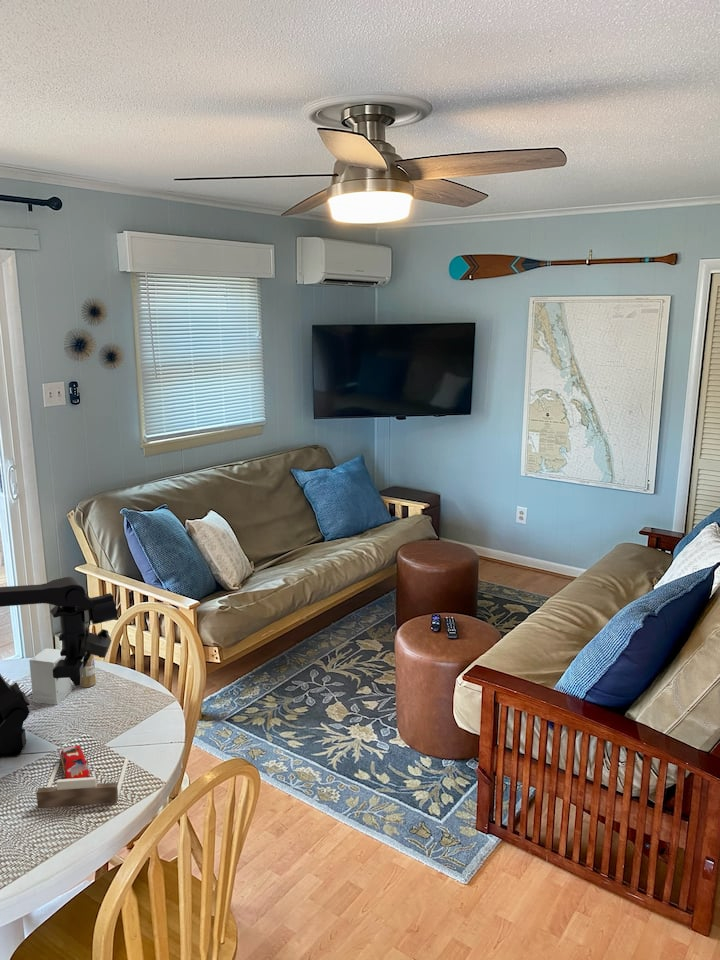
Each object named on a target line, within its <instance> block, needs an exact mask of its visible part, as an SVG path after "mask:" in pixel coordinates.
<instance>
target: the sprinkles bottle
mask: <svg viewBox="0 0 720 960" xmlns="http://www.w3.org/2000/svg"><path fill="white" fill-rule="evenodd" d="M86 653H87V652H86ZM87 661H88V662H87V664H86V666H85V667H84V668H83V673H82V679H81V684H80V686H79V687H82V688H91V687H93V686H95V685H96V683H97V679H96V665H95V664H96V663H95V655H92V654H91V656H90V658H89V659H88V660H87Z"/></svg>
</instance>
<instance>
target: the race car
mask: <svg viewBox="0 0 720 960" xmlns="http://www.w3.org/2000/svg"><path fill="white" fill-rule="evenodd" d="M59 757H60V758H59V760H60V765H61V770H62V774H63V776H64V778H63V779H74V778H88V777H90V776H91V775H90V770H89V767H88V764H87V762H89V761H88V760H86V758H85V754H84V751H83V750H82V748H81V746H80V745H72V746H68V747H64V748H62V750H61V751H60V756H59Z"/></svg>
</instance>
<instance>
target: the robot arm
mask: <svg viewBox="0 0 720 960" xmlns="http://www.w3.org/2000/svg"><path fill="white" fill-rule="evenodd" d="M39 604H47V605H52V606H54V607H52V609H50V611H49V612H50V614H51V616H52V617H53V618H59V624H60V625H59V626H60V635H59V636H58V640H59V641H60V642H61V647H62V648H61V649H60V650H61V652H60V655H61V656H66V657H65V659H64V660H59V661H58V662H57V663H56V665H55V667H54V668H53V677H54V678H70V679H71V683H73V685H74V686H75V687H81V686H80V684H81V679H82V673H83V668H84V667H85V666H86V664H87V662H88V661H87V660H88V659H89V658H90V656H91V654H92V655H94V656H95V657H98V658H101V659H102V658H103V659H104V658H106V656H107V653H108V651H109V649H110V646H111V643H112V637H111V636H110V635H109V634H110V633H109V630H107V629H101V630H100V631H99V632H98V633H97V632H95V633H93V632H90V628H89V627H86V621H87V622H91V624H92V625H98V624H102V623H105V622H110V621H114V620H118V614H119V613H118V608H117V606H116V603H115V599H114V595H113V594H112V593H111V592H109V593H105V594H102V595H100V596H95V597H94V596H93V597H90V595H88V594H87V593H86V591H85V589H84V587H83V586H82V585H81V583H79V581H78V580H77V579H75V578H74V577H71V576H67V577H60V578H56V579H53V580H50V581H48V582H46V583H41V584H27V585H25V584H24V585H12V586H0V608H1V607H2V608H3V607H12V606H13V607H14V606H15V607H16V606H25V605H39ZM86 652H87V653H86ZM30 705H31V704H30V702H29V700H28V697H27V696H26V694H25V692H24V691H22V689H21V688H20V686H19V684H18V682H17V681H15V682H14V683H13V684H10V683H8V682H7V681H6V680H5V678H4V677H3V676H2V674H1V673H0V759H1V758H13V757H14V758H17V757H20V756H21V753H22V751H23V750H24V749H25V747H26V745H27V742H28V740H27V736H26V735H27V734H26V729H25V728H24V727H23V724H24V722H25V721H26V720H27V719H28V718H29V715H30V714H31V713H30V712H31V711H30V708H29V706H30Z"/></svg>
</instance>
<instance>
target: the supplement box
mask: <svg viewBox="0 0 720 960" xmlns="http://www.w3.org/2000/svg"><path fill="white" fill-rule="evenodd" d="M61 650H62V649H57V648H56V649H55V648H46V647H45V648H44V649H43V650H41V651H40V652H39V653H37V654H35V656H33V657H32V658H30V659H29V668H30V669H29V670H30V682H31V690H32V691H31V693H32V702H34V703H41V704H46V705H54V706H57V705H58V704H59V703H60V702H61V701H62V700H63V699H64V698H66V696H68V695H69V694H70V693H72V681H71V679H70V678H54V677H53V668H54V667H55V665H56V663H57V662H58V661H59V660H64V659H65V657H66V656H61V655H60V652H61Z"/></svg>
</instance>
